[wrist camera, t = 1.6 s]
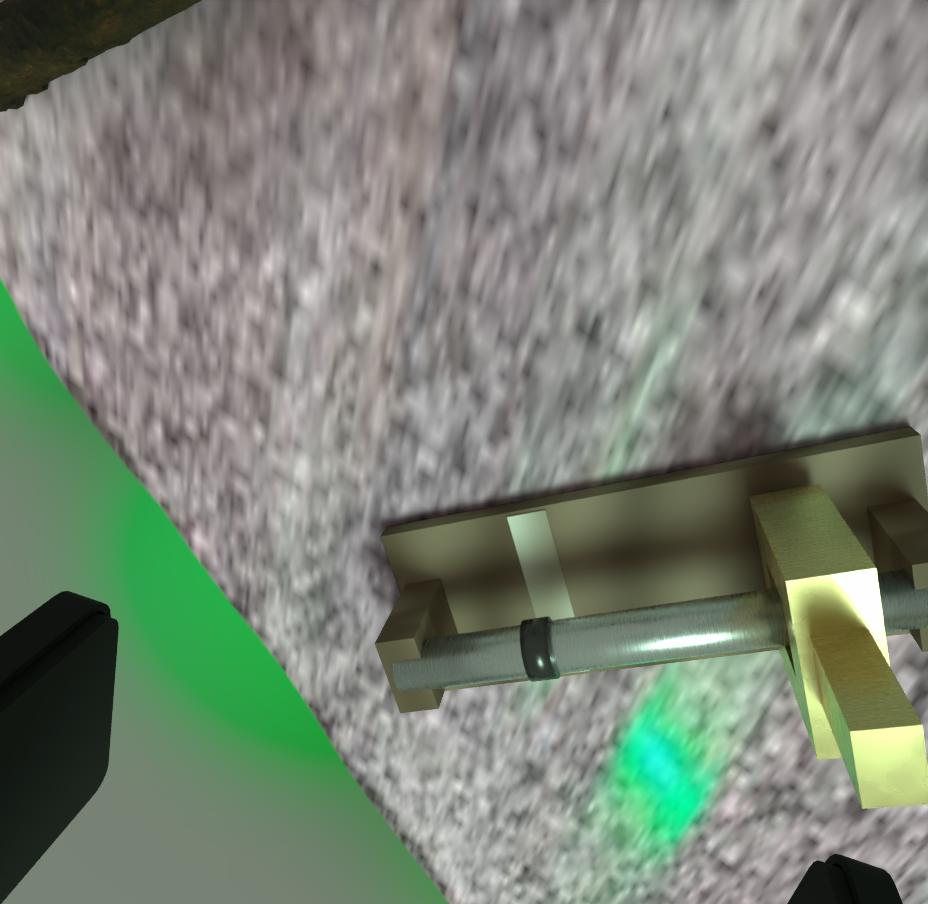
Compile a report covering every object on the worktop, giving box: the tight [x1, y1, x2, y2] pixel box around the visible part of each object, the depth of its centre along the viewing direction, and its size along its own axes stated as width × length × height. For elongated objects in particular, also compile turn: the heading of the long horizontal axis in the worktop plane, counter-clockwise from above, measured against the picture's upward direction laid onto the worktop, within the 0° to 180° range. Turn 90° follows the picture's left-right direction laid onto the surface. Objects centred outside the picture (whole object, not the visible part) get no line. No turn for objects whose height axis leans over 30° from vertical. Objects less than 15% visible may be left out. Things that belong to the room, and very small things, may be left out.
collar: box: [750, 484, 928, 809], centre depth 29 cm, size 3×8×13 cm, turn 17°
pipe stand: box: [375, 427, 928, 713], centre depth 35 cm, size 26×10×7 cm, turn 107°
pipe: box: [392, 569, 928, 693], centre depth 33 cm, size 24×3×3 cm, turn 106°
